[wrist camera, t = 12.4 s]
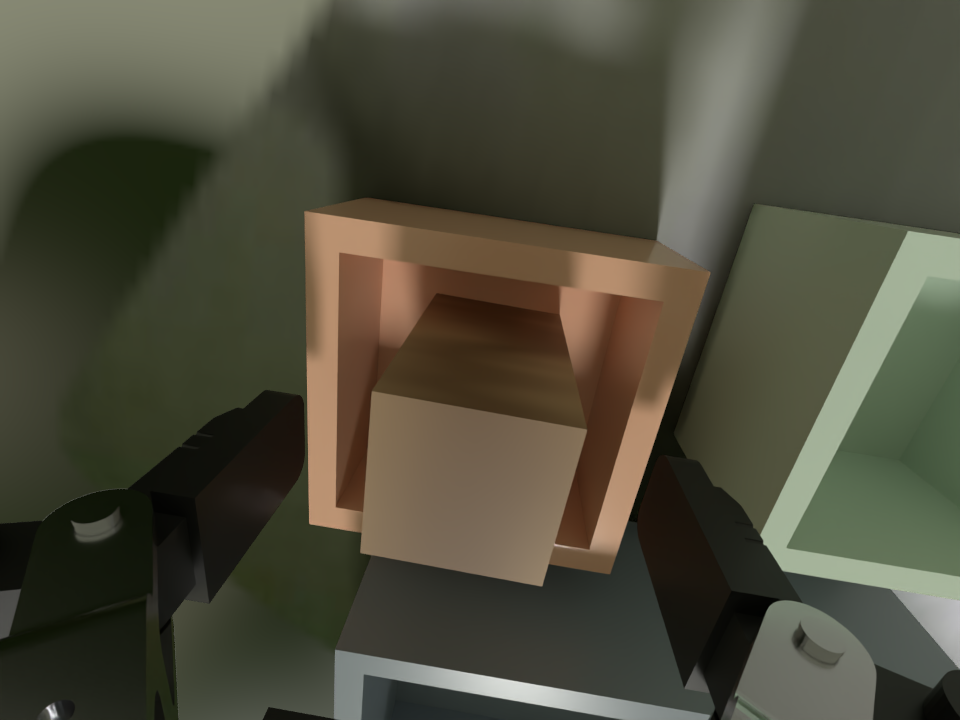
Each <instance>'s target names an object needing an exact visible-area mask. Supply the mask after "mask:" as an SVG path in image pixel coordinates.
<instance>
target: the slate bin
mask: <svg viewBox="0 0 960 720" xmlns="http://www.w3.org/2000/svg"><path fill="white" fill-rule="evenodd" d="M783 572H784V574H785V575H786V577H787V579H788V580H789V582H790V583H791V585H792V587H793V588H794V590H795V591H796V593H797V594H798V596H799V598H800V599H801V601H802V602H803V604H806V605H809V606H811V607H814V608H816V609H818V610H820V611H822V612H824V613H825V614H827V615H829V616H830V617H832V618H833V619H835V620H836V621H837V622H839V623H840V624H842V625H843V626H844V627H845V628H846V629H848V630H849V631H850V632H851V633H852V634H853V635H854V636H855V637H856V638H857V639H858V640H859V641H860V643H861V644H862V645H863V646H864V647H865V649H866V650H867V652H868V653H869V655H870V657H871V659H872V661H873V663H874V664H876V665H878V666H881V667H883V668H885V669H888V670H890V671H893V672H895V673H897V674H900V675H902V676H904V677H907V678H909V679H912V680H914V681H916V682H919V683H921V684H923V685H926V686H928V687H931V688H934V687H935V686H936V685H937V683H938V682H939V681H940V680H941V678H942V677H943V676H944V675H945V674H946V673H947V672H949V671H952V670H960V669H959V668H958V667H957V666H956V665H955V664H954V662H953V661H952V660H951V659H950V658H949V657H948V656H947V654H946V653H945V652H944V651H943V650H942V649H941V647H940V646H939V645H938V644H937V643H936V642H935V640H934V639H933V638H932V637H931V636H930V635H929V633H928V632H927V631H926V630H925V629H924V628H923V626H922V625H921V624H920V623H919V622H918V621H917V619H916V618H915V617H914V616H913V615H912V614H911V612H910V611H909V610H908V609H907V608H906V607H905V606H904V604H903V603H902V602H901V601H900V600H899V599H898V597H897V596H896V595H895V594H894V593H893V592H892V590H891V589H888V588H882V587H876V586H870V585H864V584H858V583H852V582H846V581H840V580H834V579H828V578H822V577H816V576H810V575H804V574H798V573H792V572H786V571H783ZM714 708H715V706H714V703H713V700H712V698H711V695H710V693H706V692H700V691H694V690H689V689H684V686H683V683H682V680H681V677H680V673H679V670H678V667H677V663H676V660H675V657H674V654H673V650H672V647H671V644H670V641H669V637H668V634H667V631H666V627H665V624H664V621H663V618H662V614H661V611H660V608H659V604H658V601H657V598H656V595H655V591H654V588H653V585H652V581H651V578H650V575H649V572H648V568H647V565H646V562H645V558H644V555H643V552H642V549H641V545H640V542H639V538H638V532H637V522H631V521H628V522H627V525H626V528H625V531H624V534H623V537H622V540H621V543H620V546H619V549H618V552H617V555H616V558H615V561H614V564H613V567H612V570H611V573H610V574H604V573H598V572H593V571H587V570H581V569H575V568H569V567H563V566H557V565H551V564H548V568H547V571H546V575H545V578H544V582H543V585H542V586H537V585H531V584H526V583H520V582H515V581H509V580H504V579H499V578H493V577H488V576H482V575H477V574H472V573H466V572H461V571H455V570H450V569H445V568H439V567H434V566H428V565H423V564H418V563H412V562H407V561H401V560H396V559H390V558H385V557H380V556H374V555H371V558H370V560H369V563H368V566H367V568H366V571H365V573H364V576H363V579H362V581H361V584H360V586H359V589H358V592H357V594H356V597H355V599H354V602H353V605H352V607H351V610H350V612H349V615H348V618H347V620H346V623H345V625H344V628H343V630H342V633H341V636H340V638H339V641H338V643H337V646H336V649H335V690H334V719H337V720H708V719H709V717H710V715H711V713H712V712H713V710H714Z"/></svg>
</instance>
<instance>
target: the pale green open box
mask: <svg viewBox="0 0 960 720" xmlns="http://www.w3.org/2000/svg"><path fill="white" fill-rule="evenodd" d="M673 434H674V436H675V438H676V440H677V441H678V443H679V445H680V447H681V449H682V450H683V452H684V454H685V456H686V458H687V459H692V460H697V461H698V462H700V464H701V465H702V467H703V469H704V470H705V472H706V474H707V475H708V477H709V479H710V481H711V482H712V484H713V486H715V487H721V488H722V489H723V490H724V491H726V492H727V493H728V494H729V495H730V496H731V497H732V498H733V499H734V500H736V501H737V502H738V503H739V504H740V505H741V506H742V508H743V509H744V511H745V512H746V514H747V515H748V517H749V519H750V520H751V522H752V523H753V528H755V529H756V530H757V531H758V533H759V534H760V536H761V538H762V539H763V541H764V542H763V544H764V545H767V547H768V549H769V550H770V552H771V553H772V555H773V557H774V558H775V560H776V561H777V563H778V564H779V566H780V568H781V569H782V571H786V572H792V573H798V574H804V575H810V576H816V577H822V578H828V579H834V580H840V581H846V582H852V583H858V584H864V585H870V586H876V587H882V588H888V589H894V590H900V591H906V592H912V593H918V594H924V595H930V596H936V597H942V598H948V599H954V600H960V234H959V233H953V232H946V231H939V230H932V229H925V228H919V227H912V226H905V225H898V224H891V223H884V222H878V221H871V220H864V219H857V218H850V217H844V216H837V215H830V214H823V213H816V212H809V211H803V210H796V209H789V208H782V207H775V206H769V205H762V204H755V203H754V205H753V208H752V211H751V214H750V216H749V219H748V222H747V225H746V228H745V231H744V234H743V236H742V239H741V242H740V245H739V248H738V251H737V254H736V256H735V259H734V262H733V265H732V268H731V271H730V274H729V276H728V279H727V282H726V285H725V288H724V291H723V294H722V296H721V299H720V302H719V305H718V308H717V311H716V313H715V316H714V319H713V322H712V325H711V328H710V331H709V333H708V336H707V339H706V342H705V345H704V348H703V351H702V353H701V356H700V359H699V362H698V365H697V368H696V371H695V373H694V376H693V379H692V382H691V385H690V388H689V391H688V393H687V396H686V399H685V402H684V405H683V408H682V411H681V413H680V416H679V419H678V422H677V425H676V428H675V431H674V433H673Z"/></svg>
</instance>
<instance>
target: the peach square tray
mask: <svg viewBox="0 0 960 720" xmlns="http://www.w3.org/2000/svg"><path fill="white" fill-rule="evenodd" d="M305 268H306V336H307V403H308V470H309V524H312V525H318V526H324V527H330V528H336V529H342V530H348V531H354V532H360V533H362V523H363V509H364V494H365V480H366V466H367V452H368V437H369V423H370V409H371V395H372V390H373V388H374V387H375V385H376V384H377V382H378V381H379V379H380V378H381V376H382V375H383V373H384V372H385V370H386V369H387V367H388V366H389V364H390V363H391V361H392V360H393V358H394V357H395V355H396V354H397V352H398V351H399V349H400V348H401V346H402V345H403V343H404V342H405V340H406V338H407V337H408V335H409V334H410V332H411V331H412V329H413V328H414V326H415V325H416V323H417V322H418V320H419V319H420V317H421V316H422V314H423V313H424V311H425V310H426V308H427V307H428V305H429V304H430V302H431V301H432V299H433V298H434V296H435V295H436V293H439V294H445V295H450V296H456V297H462V298H468V299H473V300H479V301H485V302H491V303H496V304H502V305H508V306H513V307H519V308H525V309H531V310H536V311H542V312H548V313H553V314H559V315H560V318H561V322H562V326H563V330H564V334H565V338H566V343H567V347H568V351H569V355H570V359H571V363H572V368H573V372H574V376H575V380H576V384H577V388H578V393H579V397H580V401H581V405H582V409H583V413H584V417H585V422H586V426H587V433H586V436H585V440H584V443H583V447H582V450H581V454H580V457H579V461H578V464H577V468H576V471H575V474H574V478H573V481H572V485H571V488H570V492H569V495H568V499H567V502H566V506H565V509H564V513H563V516H562V519H561V523H560V526H559V530H558V533H557V537H556V540H555V544H554V547H553V551H552V554H551V558H550V561H549V564H551V565H557V566H563V567H569V568H575V569H581V570H587V571H593V572H598V573H604V574H610V573H611V570H612V567H613V564H614V561H615V558H616V555H617V552H618V549H619V546H620V543H621V540H622V537H623V534H624V531H625V528H626V525H627V522H628V519H629V516H630V513H631V510H632V507H633V504H634V501H635V498H636V495H637V492H638V489H639V486H640V483H641V480H642V477H643V474H644V471H645V468H646V465H647V462H648V459H649V456H650V453H651V450H652V447H653V444H654V441H655V438H656V435H657V432H658V429H659V426H660V423H661V420H662V417H663V414H664V411H665V408H666V405H667V402H668V399H669V396H670V393H671V390H672V387H673V384H674V381H675V378H676V375H677V372H678V369H679V366H680V363H681V360H682V357H683V354H684V351H685V348H686V345H687V342H688V339H689V336H690V333H691V330H692V327H693V324H694V321H695V318H696V315H697V312H698V309H699V306H700V303H701V300H702V297H703V294H704V291H705V288H706V285H707V282H708V279H709V276H710V273H711V272H709V271H707V270H706V269H704V268H702V267H701V266H699V265H697V264H696V263H694V262H692V261H690V260H689V259H687V258H685V257H684V256H682V255H680V254H679V253H677V252H675V251H673V250H672V249H670V248H668V247H667V246H665V245H663V244H662V243H660V242H658V241H655V240H648V239H642V238H635V237H628V236H622V235H615V234H608V233H602V232H595V231H588V230H582V229H575V228H568V227H561V226H555V225H548V224H541V223H535V222H528V221H521V220H515V219H508V218H501V217H495V216H488V215H481V214H474V213H468V212H461V211H454V210H448V209H441V208H434V207H428V206H421V205H414V204H408V203H401V202H394V201H387V200H381V199H374V198H367V197H366V198H361V199H357V200H352V201H348V202H343V203H339V204H335V205H330V206H326V207H321V208H317V209H312V210H308V211H305Z"/></svg>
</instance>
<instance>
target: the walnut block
mask: <svg viewBox="0 0 960 720" xmlns="http://www.w3.org/2000/svg"><path fill="white" fill-rule="evenodd" d="M586 433H587V426H586V422H585V417H584V413H583V409H582V405H581V401H580V397H579V393H578V388H577V384H576V380H575V376H574V372H573V368H572V363H571V359H570V355H569V351H568V347H567V343H566V338H565V334H564V330H563V326H562V322H561V318H560V315H559V314H553V313H548V312H542V311H536V310H531V309H525V308H519V307H513V306H508V305H502V304H496V303H491V302H485V301H479V300H473V299H468V298H462V297H456V296H450V295H445V294H439V293H436V295H435V296H434V298H433V299H432V301H431V302H430V304H429V305H428V307H427V308H426V310H425V311H424V313H423V314H422V316H421V317H420V319H419V320H418V322H417V323H416V325H415V326H414V328H413V329H412V331H411V332H410V334H409V335H408V337H407V338H406V340H405V342H404V343H403V345H402V346H401V348H400V349H399V351H398V352H397V354H396V355H395V357H394V358H393V360H392V361H391V363H390V364H389V366H388V367H387V369H386V370H385V372H384V373H383V375H382V376H381V378H380V379H379V381H378V382H377V384H376V385H375V387H374V388H373V390H372V395H371V409H370V423H369V437H368V452H367V466H366V480H365V494H364V509H363V523H362V537H361V551H360V553H363V554H369V555H374V556H380V557H385V558H390V559H396V560H401V561H407V562H412V563H418V564H423V565H428V566H434V567H439V568H445V569H450V570H455V571H461V572H466V573H472V574H477V575H482V576H488V577H493V578H499V579H504V580H509V581H515V582H520V583H526V584H531V585H537V586H542V585H543V582H544V578H545V575H546V571H547V568H548V564H549V561H550V558H551V554H552V551H553V547H554V544H555V540H556V537H557V533H558V530H559V526H560V523H561V519H562V516H563V513H564V509H565V506H566V502H567V499H568V495H569V492H570V488H571V485H572V481H573V478H574V474H575V471H576V468H577V464H578V461H579V457H580V454H581V450H582V447H583V443H584V440H585V436H586Z"/></svg>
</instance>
